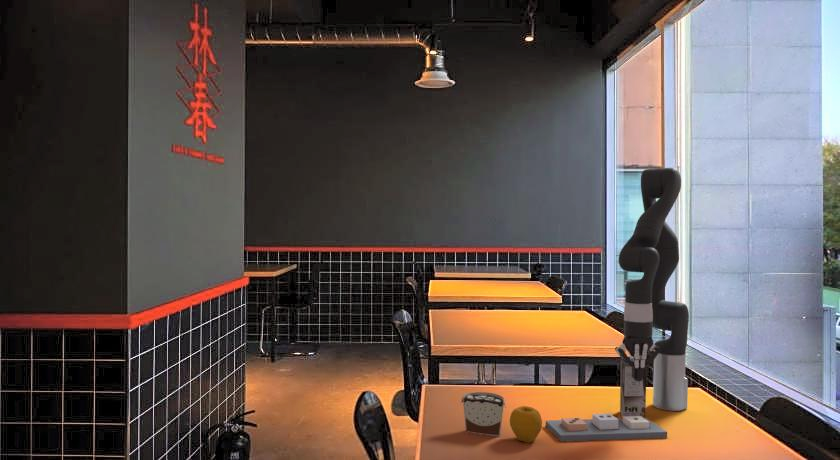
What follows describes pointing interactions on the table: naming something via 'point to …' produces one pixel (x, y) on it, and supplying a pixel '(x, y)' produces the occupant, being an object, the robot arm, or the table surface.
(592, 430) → the button board
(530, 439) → the apple
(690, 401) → the table surface
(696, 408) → the table surface
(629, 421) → the tile one
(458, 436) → the table surface
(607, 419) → the tile two
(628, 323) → the robot arm
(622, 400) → the coffee box
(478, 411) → the food container
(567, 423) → the tile three
